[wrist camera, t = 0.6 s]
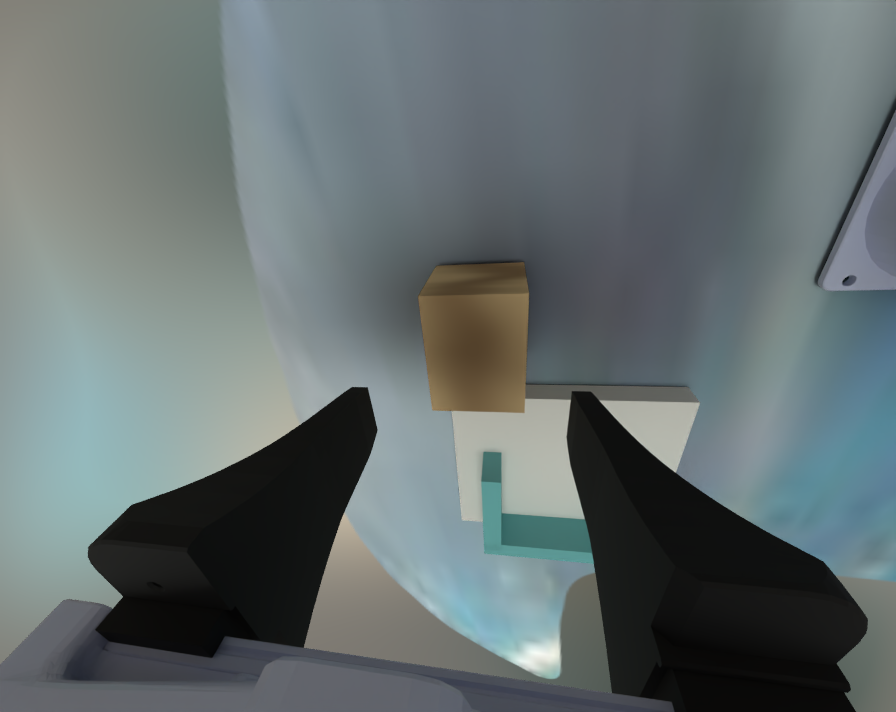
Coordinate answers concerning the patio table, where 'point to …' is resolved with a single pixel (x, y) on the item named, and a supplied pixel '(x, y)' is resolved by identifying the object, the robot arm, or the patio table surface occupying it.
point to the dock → (552, 464)
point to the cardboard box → (476, 336)
